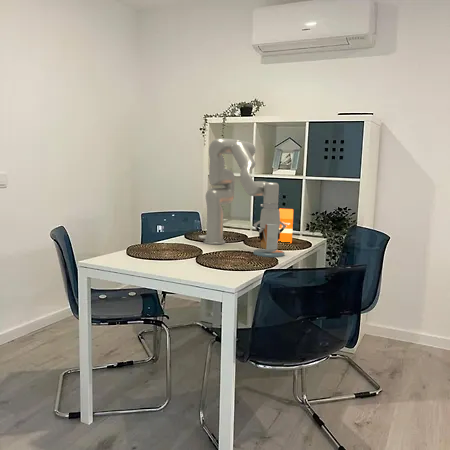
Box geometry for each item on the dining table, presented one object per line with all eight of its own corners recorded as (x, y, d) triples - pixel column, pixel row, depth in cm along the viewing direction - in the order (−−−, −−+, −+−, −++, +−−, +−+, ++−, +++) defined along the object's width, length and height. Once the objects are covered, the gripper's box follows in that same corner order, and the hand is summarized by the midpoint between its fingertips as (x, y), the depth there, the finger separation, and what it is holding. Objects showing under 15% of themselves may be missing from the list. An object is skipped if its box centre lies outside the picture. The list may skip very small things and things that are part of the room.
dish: (252, 256, 238) (253, 254, 238) (253, 250, 254) (253, 248, 254) (284, 258, 237) (285, 255, 237) (283, 251, 253) (283, 249, 252)
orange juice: (291, 243, 281) (293, 209, 278) (276, 242, 282) (278, 209, 279) (292, 241, 288) (293, 208, 286) (277, 240, 290) (278, 207, 287)
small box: (260, 246, 248) (261, 222, 246) (271, 246, 250) (272, 222, 248) (266, 249, 240) (267, 224, 238) (277, 249, 242) (278, 224, 240)
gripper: (253, 206, 239) (252, 241, 241) (288, 208, 238) (286, 242, 240) (253, 205, 246) (252, 238, 249) (287, 206, 245) (285, 240, 247)
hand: (269, 240), depth 244 cm, fingers closed on small box, 8 cm apart
